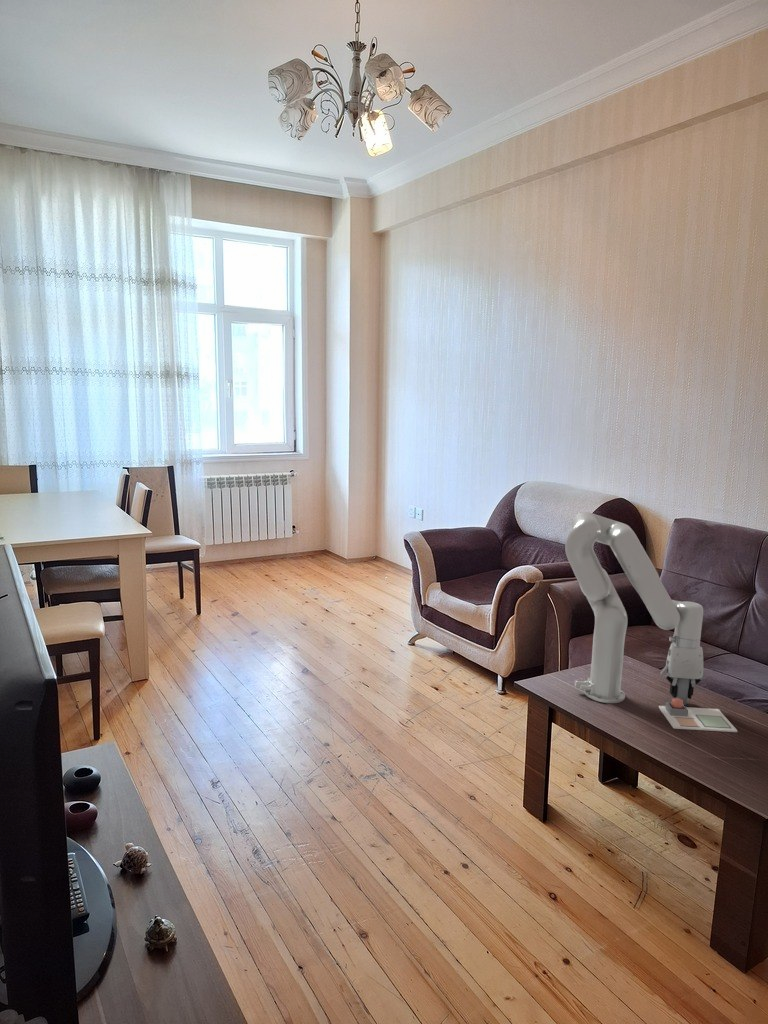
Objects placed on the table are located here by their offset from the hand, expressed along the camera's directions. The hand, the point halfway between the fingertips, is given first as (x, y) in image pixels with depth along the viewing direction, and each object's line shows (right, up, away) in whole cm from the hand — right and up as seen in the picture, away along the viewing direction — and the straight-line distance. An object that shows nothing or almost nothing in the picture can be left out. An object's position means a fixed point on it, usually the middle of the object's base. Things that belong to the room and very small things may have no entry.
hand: (680, 695), depth 216 cm
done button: (-5, -2, -7) cm, 9 cm away
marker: (0, -2, 0) cm, 2 cm away
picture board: (0, -4, -11) cm, 11 cm away
